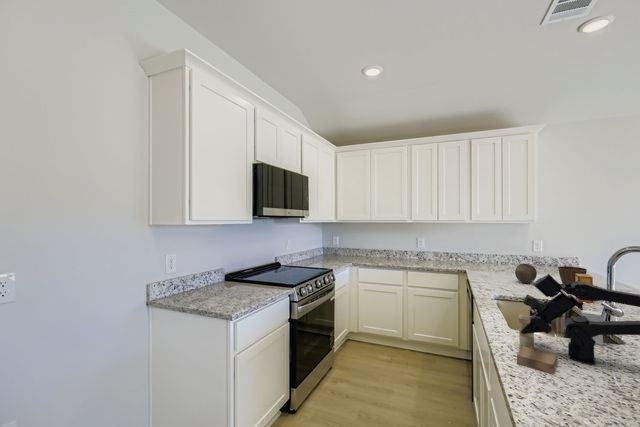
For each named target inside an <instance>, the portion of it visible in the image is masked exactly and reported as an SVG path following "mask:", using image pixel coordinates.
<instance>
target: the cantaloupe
mask: <svg viewBox="0 0 640 427" xmlns="http://www.w3.org/2000/svg"><path fill="white" fill-rule="evenodd" d="M537 273H538V271H537V269H536V268H535V266H533V265H532V264H528V263H521V264H519V265H517V266H516V268H515V270H514V274H515V277H516V279H517V280H518V281H519V282H520V283H521V284H522V283H523V284H529V283H530V284H531V283H533V282H534V281H535V280H536V279H537Z"/></svg>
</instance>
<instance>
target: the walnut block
mask: <svg viewBox="0 0 640 427" xmlns="http://www.w3.org/2000/svg"><path fill="white" fill-rule="evenodd" d="M516 365H519V366H521V367H522V366H523V367H525V368H526V367H527V368H529V369H533V370H536V371H540V372H543V373H547V374H551V375H555V372H556V368H557V366H558V354H556V353H553V352H548V351H545V350H540V349H536V348H534V349H533V348H529V347H525V346H522V348H521V349H520V348H519V351H518V352H517V354H516Z"/></svg>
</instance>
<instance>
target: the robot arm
mask: <svg viewBox="0 0 640 427" xmlns="http://www.w3.org/2000/svg"><path fill="white" fill-rule="evenodd" d="M533 286H534V287H535V288H536V290H538V291H539V292H540V293H542V295H544V296H545V297H546V298H547V297H548V298H549V297H550V298H551V299H550V300H545V301H542V300H540V299H538V298H536V297H534V296H532V295H530V294H526V295H525V297H524V299H523V301H522V304H524V305H525V306H528V307H530V309H529V316H530V323H529V324H528V325H527V326H526V327H525V328H524V329H523V330H522V331H521V332H522V333H523V334H528V333H534V334H535V333H545V334H546V335H548V334H550V333H551V332H552V330H553V329H552V324H554V323H553V321H555V320H557V319H559V318H560V319H561V318H563V317H564V314H566V313H567V312H570V310H572V309H574V308H575V307H577V308H578V309H579V310H580V311H582V310H584V308H583V306H584V303H583V302H582V301H577V299H576V298H578V299H580V300H585V301H593V302H603V301H604V302H609V303H615V304H622V305H626V306H633V307H637V308H640V294H638V293H633V292H632V293H631V292H626V291H621V290H620V291H619V290H614V289H609V288H603V287H600V286H597V285H595V284H593V285H592V284H589V283H585V282H582V281H575V282H573V283H572V284H562V283H559V282H558V281H557V280H556V279H555V278H554V277H553V276H552V275H551V274H549V273H548V274H546V275H545V276H543V277H539V279H537V280H536V281H535V282H534V283H533ZM531 316H532V317H531ZM562 327H563V329H564V330H565V333H566V334H567V335H568V336H569V337H570V340H569V342H568V343H567V348H568V356H569V359H570V360H572V361H577V362H582V363H584V364H589V365H593V366H594V365H595V363H596V357H595V345H596V344H595V343H596V342H595V340H594V339H593V338H592V337H595V336H598V335H603V336H640V320H615V321H614V320H610V321H609V320H608V321H607V320H606V321H605V320H604V321H603V320H602V321H599V322H595V321H589V320H588V319H587V318H586V316H582V315H581V316H573V315H571V316H570V317H567V318H565V319H564V320H563V322H562Z"/></svg>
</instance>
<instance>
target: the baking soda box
mask: <svg viewBox="0 0 640 427" xmlns="http://www.w3.org/2000/svg"><path fill="white" fill-rule="evenodd" d="M575 281H582V282H585V283H589V284H592V285H594V283H593V276H592V275H591V274H588V273H586V274H576V273H575ZM575 299H576V300H577V301H582V302H586V303H585V304H590V303H593V304H594V301H585V300H580V299H578V298H576V297H575Z"/></svg>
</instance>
